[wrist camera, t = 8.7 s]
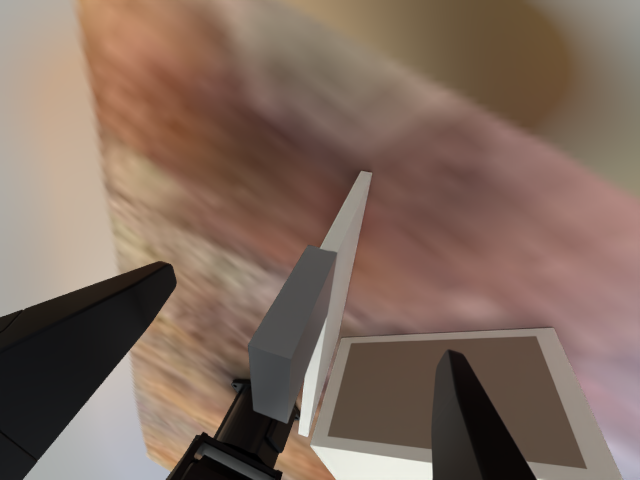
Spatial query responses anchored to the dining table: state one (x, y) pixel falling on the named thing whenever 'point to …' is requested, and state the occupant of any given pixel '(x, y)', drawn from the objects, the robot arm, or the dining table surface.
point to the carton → (417, 404)
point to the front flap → (307, 319)
